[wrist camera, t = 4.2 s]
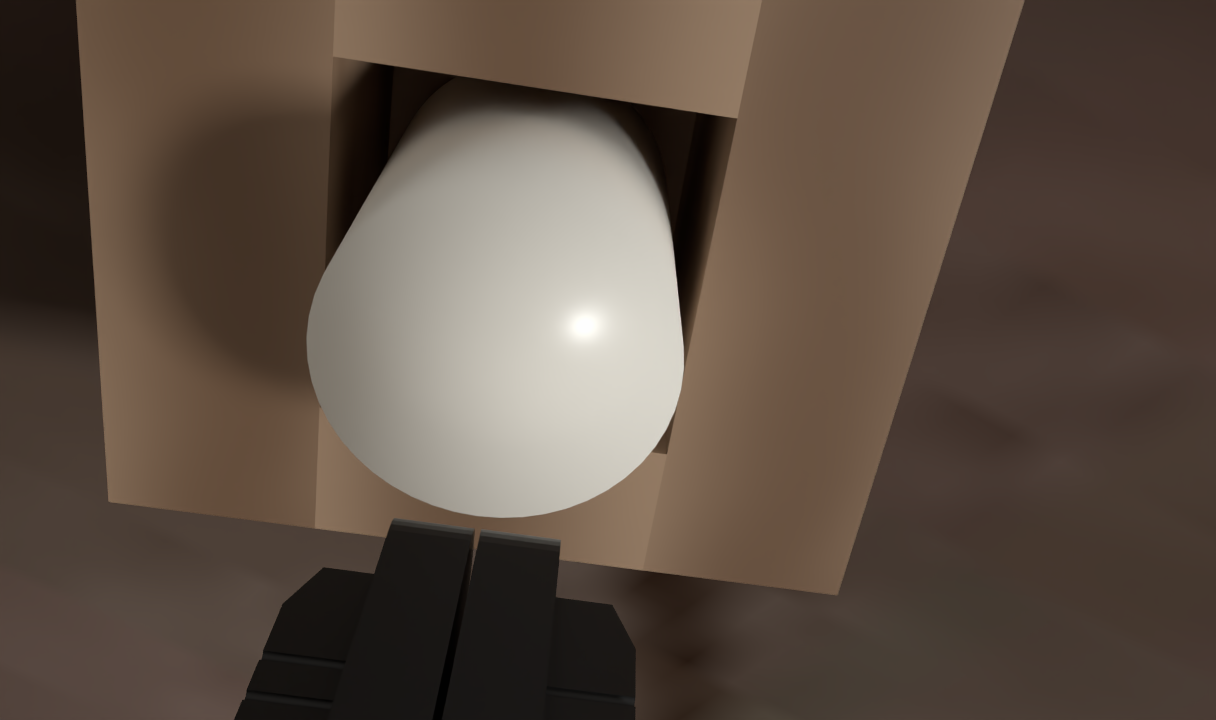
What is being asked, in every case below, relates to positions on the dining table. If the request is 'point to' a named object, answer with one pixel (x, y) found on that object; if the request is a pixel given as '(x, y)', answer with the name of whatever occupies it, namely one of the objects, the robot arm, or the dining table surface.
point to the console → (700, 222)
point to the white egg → (505, 304)
